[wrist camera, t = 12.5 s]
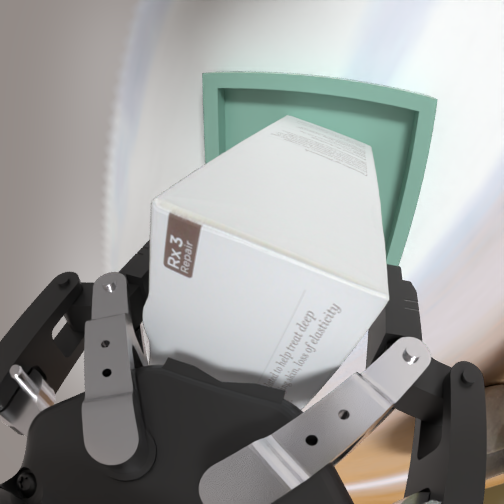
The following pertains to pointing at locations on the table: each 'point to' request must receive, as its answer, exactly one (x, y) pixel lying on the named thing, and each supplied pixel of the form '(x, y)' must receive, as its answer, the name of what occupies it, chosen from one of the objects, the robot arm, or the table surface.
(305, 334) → the skincare box
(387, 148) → the tray
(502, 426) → the bowl
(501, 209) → the table surface
